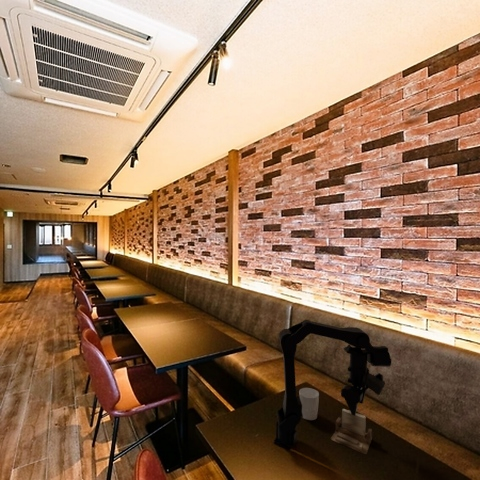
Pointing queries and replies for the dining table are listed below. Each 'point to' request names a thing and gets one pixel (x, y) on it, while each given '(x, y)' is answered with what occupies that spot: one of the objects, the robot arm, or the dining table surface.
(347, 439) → the offcut stack
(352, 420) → the birch sheet
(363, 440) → the rack
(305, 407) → the white cup
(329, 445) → the dining table surface
